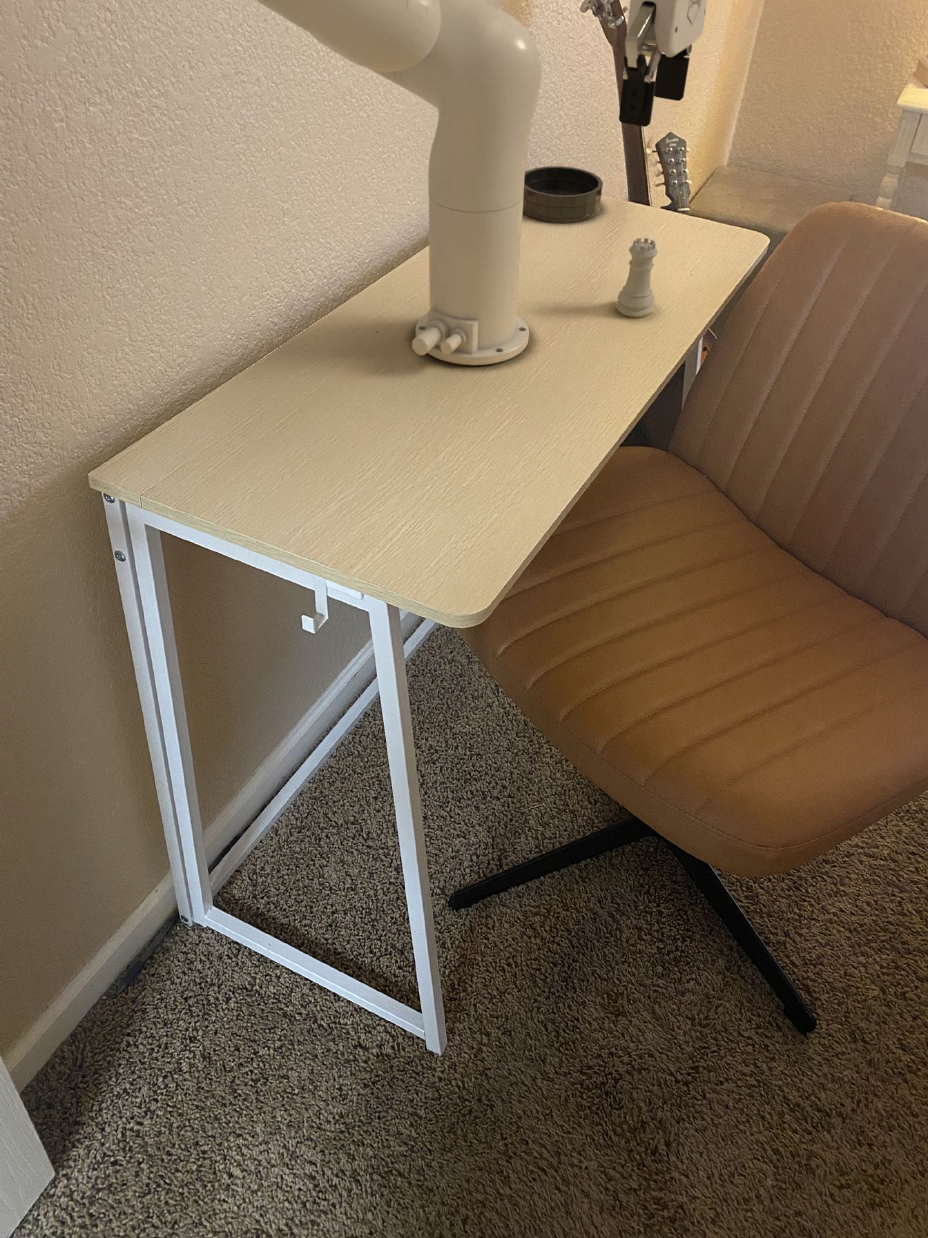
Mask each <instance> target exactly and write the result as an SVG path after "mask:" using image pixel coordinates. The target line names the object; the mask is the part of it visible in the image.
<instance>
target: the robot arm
mask: <svg viewBox="0 0 928 1238" xmlns="http://www.w3.org/2000/svg"><path fill="white" fill-rule="evenodd" d="M255 1H256V2H257V3H258V4H261V5H262V6H264V7H265V8H268V9H269V10H271V11H272V12H274V13H276V14H278V15H279V16H281V17H282V18H284V19H286V20H287V21H288V22H290V23H292V24H294V25H295V26H297V27H298V28H300V29H302V30H304V31H306V32H307V33H309V34H310V35H311V36H312V37H313V38H314V39H315V40H316V41H317V42H319V43H321V45H323V46H325V47H326V48H328V49H330V50H331V51H333V52H334V53H336V54H338V55H339V56H340V57H343V58H344V59H346V60H348V61H350V62H351V63H353V64H355V65H357V66H360V67H362V68H366V69H368V70H370V71H372V72H373V73H375V74H377V75H379V76H381V77H383V78H385V79H386V80H388V81H390V82H392V83H394V84H396V85H398V86H400V87H401V88H403V89H405V90H407V91H409V92H410V93H412V94H413V95H415V96H417V97H419V98H420V99H421V100H423V101H425V102H426V103H428V104H430V105H431V106H433V107H435V109H437V111H438V120H437V126H436V129H435V133H434V137H433V141H432V144H431V148H430V152H429V159H428V170H427V171H428V172H427V173H428V175H427V177H428V178H427V181H428V182H427V194H428V270H429V271H428V272H429V273H428V274H429V276H428V278H429V279H428V280H429V281H428V283H429V285H428V286H429V289H428V291H429V296H428V297H429V309H428V311H427V312H426V313H425V314H424V315H422V316H421V317H420V318H419V319H418V321H417V323H416V326H415V338H413V339H412V341H411V348H412V350H413V352H415V354H416V355H418V356H425V355H426V354H428V355H429V356H431V357H433V358H435V359H438V360H440V361H443V362H447V363H451V364H455V365H465V366H466V365H467V366H486V365H492V364H497V363H502V362H505V361H509V360H510V359H512V358H515V357H516V356H518V355H519V354H521V353H522V352H523V351H524V350H525V349H526V347H527V345H528V344H529V339H530V328H529V325H528V324H527V322H526V321H525V320H524V319H523V318H522V317H521V316H519V315H518V314H517V311H518V292H519V276H520V261H521V248H522V247H521V245H522V230H523V215H524V213H523V199H524V195H523V193H524V178H525V172H526V164H527V155H528V145H529V139H530V134H531V129H532V124H533V120H534V116H535V112H536V107H537V104H538V99H539V95H540V89H541V82H542V65H541V58H540V54H539V50H538V48H537V45H536V42H535V40H534V38H533V36H532V35H531V34H530V32H529V30H528V29H526V27H525V26H524V25H523V24H522V23H521V22H520V21H519V20H518V19H516V18H515V16H512V15H511V14H510V13H508V12H506V11H505V10H503V9H500V8H498V7H496V6H493V5H492V4H490V3H487V2H484V1H482V0H255ZM629 2H630V3H629V9H628V17H627V28H626V35H625V39H624V46H625V48H624V49H625V55H624V57H623V60H624V61H623V64H624V67H623V71H622V79H623V80H622V89H621V96H620V103H619V104H620V105H619V112H618V113H619V114H618V121H619V122H620V123H622V124H627V125H633V126H638V127H645V128H646V127H648V126H649V125H650V124H651V121H652V114H653V109H654V100H655V98H658V99H659V98H660V99H664V100H669V101H670V100H671V101H675V102H676V101H677V102H680V101H681V100H683V99H684V96H685V90H686V84H687V77H688V70H689V65H690V59H691V58H690V55H691V54H692V49H693V44H694V43H695V42H697V41H698V40H699V39H700V37H701V36H702V35H703V30H704V25H705V19H706V13H707V12H706V11H707V3H708V0H630V1H629ZM646 57H648V58H649V61H648V63H647V58H646ZM654 78H655V79H654ZM653 79H654V80H653Z"/></svg>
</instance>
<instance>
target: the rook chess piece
mask: <svg viewBox="0 0 928 1238" xmlns="http://www.w3.org/2000/svg"><path fill="white" fill-rule="evenodd" d="M649 240H650V241H649ZM656 245H657V243H656V240H654V239H650V238H649V237H644V239H643V241H642V238H641V237H637V238H636V239H633V241H632V245H631V246H630V247H629V248H628V252H629V254H630V256H631V259H630V260H629V262H628V265H629V271H628V274H627V279H626V282H625V285H623V286H622V289H621V290H620V291H619V293H618V294H617V301H616V303H615V307H616V309H617V311H618V312H619V313H620V314H621V315H623V316H626V317H630V318H643V317H647V316H648V315H650V314H651V313H652V312H653V311H654V308H655V306H654V305H653V304H654V303H655V296H654V293H653V289H652V286H651V278H652V277H651V274H652V273H651V272H652V268H654V266H655V264H654V262H653V260H654V258H655V257H656V256H657V255H658V253H659V251H658V249H657V247H656Z"/></svg>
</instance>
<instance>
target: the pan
mask: <svg viewBox="0 0 928 1238" xmlns="http://www.w3.org/2000/svg"><path fill="white" fill-rule="evenodd" d="M603 187H604V181H603V180H602V178H601V177H599V175H597V174H595V173H593V172H591V171H588V170H585V169H582V168H579V167H578V168H577V167H573V166H562V165H549V166H540V167H535V168H531V169H527V170H525V178H524V193H523V195H524V199H523V215H525V216H527V217H530V218H532V219H535V220H537V221H542V222H548V223H556V224H570V223H578V222H579V223H581V222H584V221H588V220H591V219H592V218H595V216H597V215H598V214H599V213H600V210H601V203H602V196H603V195H602V194H603Z"/></svg>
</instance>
